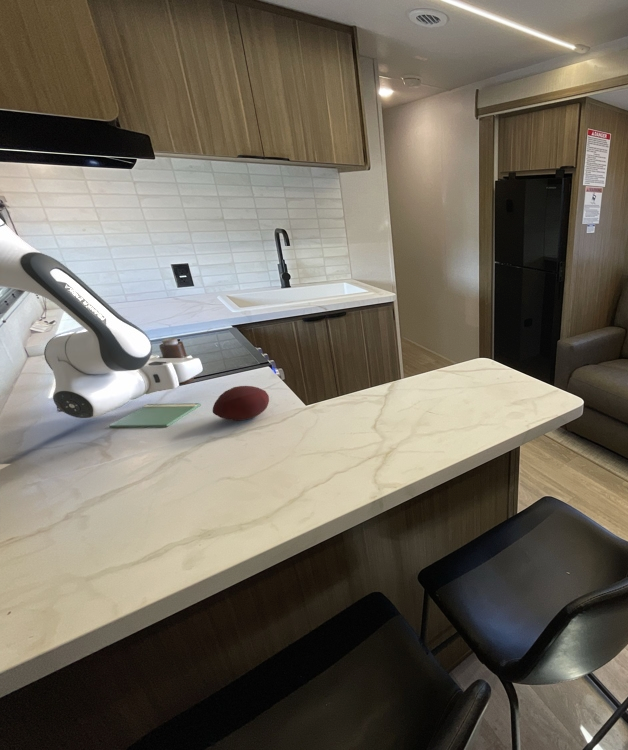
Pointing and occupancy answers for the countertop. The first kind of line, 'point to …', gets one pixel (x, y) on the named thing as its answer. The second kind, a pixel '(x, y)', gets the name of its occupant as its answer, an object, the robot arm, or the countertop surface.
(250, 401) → the potato
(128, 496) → the countertop surface
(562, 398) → the countertop surface
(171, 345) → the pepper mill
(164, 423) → the tea towel
